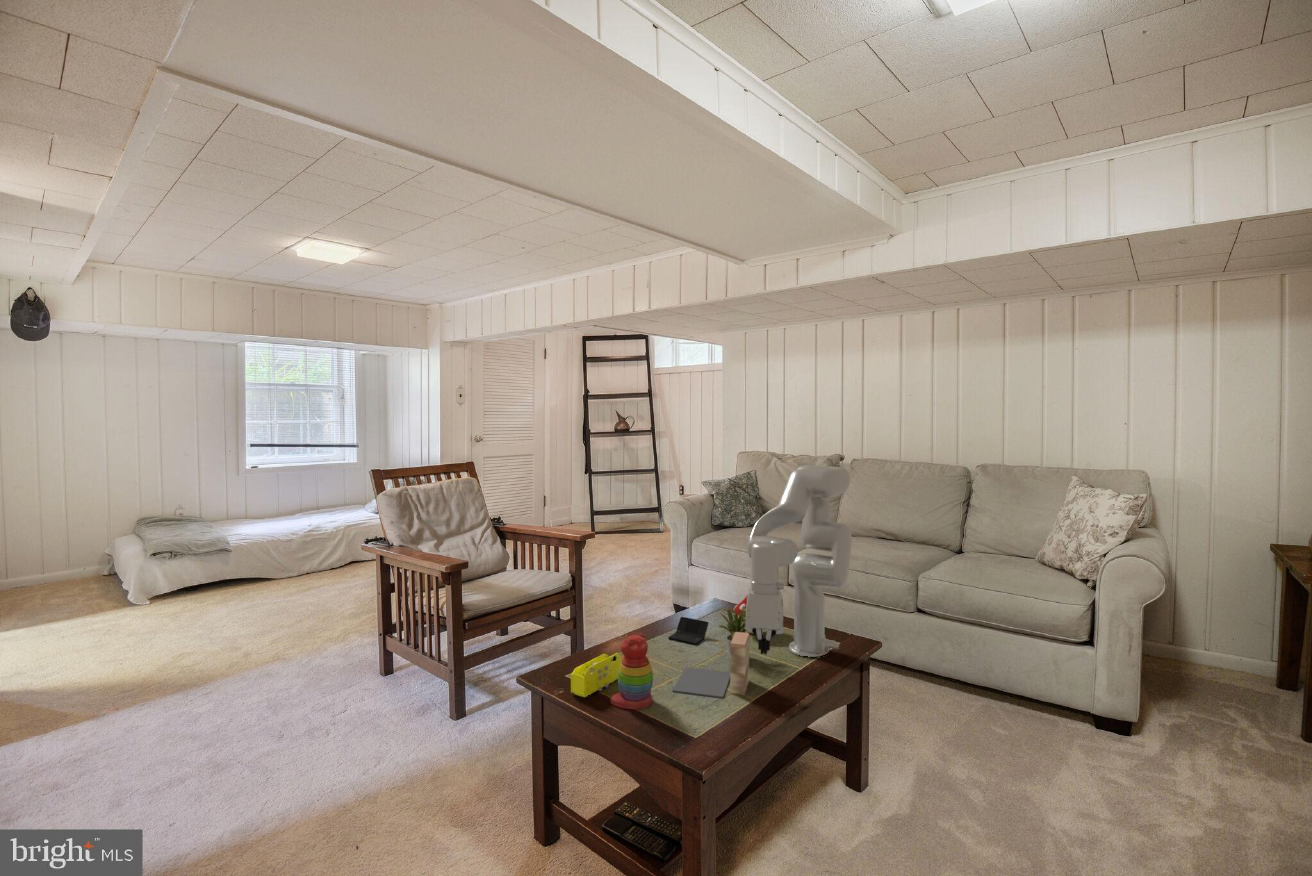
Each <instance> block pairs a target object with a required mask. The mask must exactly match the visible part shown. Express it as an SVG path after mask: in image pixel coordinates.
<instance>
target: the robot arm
mask: <svg viewBox="0 0 1312 876" xmlns="http://www.w3.org/2000/svg"><path fill="white" fill-rule="evenodd" d="M850 479H851V478H850V473H849V471H848V470H847V469H846V468H845V467H842V466H827V465H812V464H811V465H808V464H807V465H801V466H799V467H798V468H797V469H794V470H793V471H792V472H791V473H790V475H789V477H788V479H787V482H786V484H785V487H784V490H783V491H782V494H781V497H780V500H779V502H778V504H777V505H776V506H775V507H773V508H771V509H770V510H768V511H767V512H766V513H765V514H763V515H762V516H761V517H760V518H759V519H758V520H757V521H756V522H755V524H754V526H753V528H752V530H751V533H750V534H749V538H748V541H747V546H746V551H747V556H748V557H749V558H750V559H751V561H750V563H751V564H750V569H751V570H750V572H751V573H750V575H751V576H750V589H749V590H748V593H747V595H748V597H747V605H746V618H745V619H746V625H745V630H747V631H746V632H748V631H750V632H753V633H754V634H753V635H755V637H756V638H757V640H758V649H757V650H760V654H761V655H767V653H768V652H769V651H771V639H772V638H774V637H775V636H776V635H782V634H784V633H785V629H784V628H785V627H784V601H783V594H782V591H780V590H784V589H785V585H784V584H783V583H780V580H779V578H780V577H779V576H780V573H779V571H780V570H779V569H780V568H779V567H783V566H784V567H785V566H789V565H790V566H791V572H792V579H793V589H794V602H793V603H794V604H793V605H794V607H793V608H794V614H793V615H794V616H793V617H794V619H793V623H794V624H793V625H794V626H793V633H794V634H793V641H791V642H790V643H789V644H788V645H789V646H788V649H789V651H790V652H791V653H792V654H794V655H797V656H799V655H800V657H803V656H808V657H807V658H810V656H822V655H825V654H827V653H828V652H829V653H830V649H834V650H840V643H839V642H836V640H831V639H830V640H829V639H828V638H826V634H825V620H826V618H825V617H826V616H825V614H826V612H825V611H826V600H825V599H826V598H825V594H824V592H823V590H822V588H821V587H825V588H826V587H827V588H828V587H829V588H834V589H842V588H844V587H845V586H846V583H847V582H848V578H849V569H850V561H851V552H852V543H853V542H852V539H853V538H852V532H851V529H850V527H849V526H848V525H847V524H845V523H842V522H834V521H831V512H832V506H831V503H830V501H829V499H830V498H836V497H838V496H840V495H842V494H844V493H846V491H847V490H848V488H849V486H850V481H851V480H850ZM800 521H802V523H801V528H800V529H801V531H800V542H801V544H802V546H803V547H804V548H806V549H809V550H815V551H821V552H828V553H832V556H830V555H824V554H819V553H811V552H801V553H799V547H798V545H797V543H795V541H794V540H792V539H789V538H785V537H777V536H771V535H769V534H770V533H771V532H773V531H775V530H776V529H779V528H782V527H785V526H788V525H792V524H796V523H798V522H800ZM763 630H766V635H765V636H764V634H763Z"/></svg>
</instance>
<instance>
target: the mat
mask: <svg viewBox="0 0 1312 876" xmlns="http://www.w3.org/2000/svg"><path fill="white" fill-rule="evenodd" d="M729 682H730V671H725V670H724V671H723V670H715V669H706V668H700V667H699V668H698V667H692V666H691V667H690V666H685V667H684V669H683V670H682V673H681V674H680V676H679V677H678V680H677V682H676V683H675V685H674V687H673V689H672V692H674V693H678V694H680V693H681V694H688V695H696V696H702V697H712V698H719V699H724V696H725V693H726V691H727V688H728V685H729Z"/></svg>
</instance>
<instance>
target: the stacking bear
mask: <svg viewBox="0 0 1312 876" xmlns="http://www.w3.org/2000/svg"><path fill="white" fill-rule="evenodd" d="M648 649H649V646H648V642H647V640H646V639H645V634H644V633H639V635H638V634H634V635H633V634H632V635H630V636H628V637H626V639H625V640H624V642H622V644H621V645H620V650H621V653H622V654H623V657H622V660H621V664H620V669H619V673H618V679H617V681H618V683H617V684H618V689H619V692H617V693H615V694H613V695H612V696H611V697H610V701H609V702H610V704H611V705H612V706H615V707H617V708H621V709H625V710H626V709H627V710H641V709H644V708H648V707H650V705H651V704H653V695H652V693H651V692H652V690H653V689H652V687H653V682H654V671H653V668H652V663H651V661H650V659H649V657H647V653H648Z"/></svg>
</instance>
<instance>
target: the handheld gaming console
mask: <svg viewBox="0 0 1312 876" xmlns="http://www.w3.org/2000/svg"><path fill="white" fill-rule="evenodd" d="M708 626H709V621H706V620H705V621H704V620H701V619H696V618H695V619H694V618H690V617H684V616H681V617H680V618H679V621H678V625H677V627H676V631H675V632H674V633H673V634H671V635H669V636H668V640H670V641H673V642H677V643H678V642H679V643H683V644H688V645H691V646H696V647H697V646H698V645H700V644H701V643H702V642H704V641H705V638H706V633H707V630H708V628H709V627H708Z"/></svg>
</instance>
